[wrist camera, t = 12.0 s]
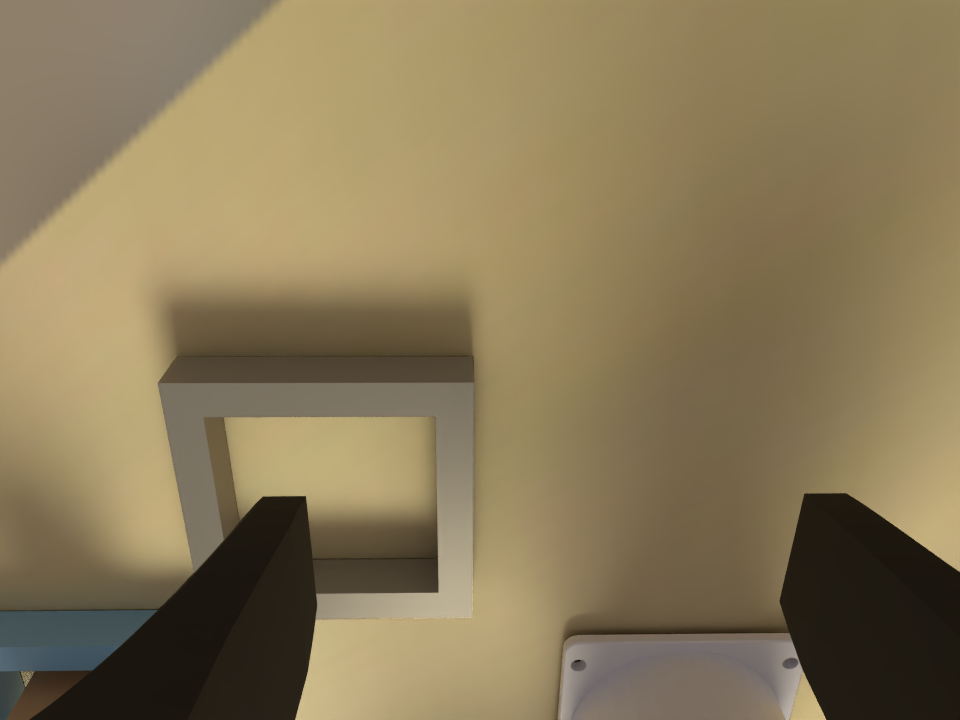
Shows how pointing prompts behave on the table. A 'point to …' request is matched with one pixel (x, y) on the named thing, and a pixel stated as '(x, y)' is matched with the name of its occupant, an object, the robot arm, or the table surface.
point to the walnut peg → (44, 691)
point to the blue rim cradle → (58, 643)
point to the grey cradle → (332, 393)
